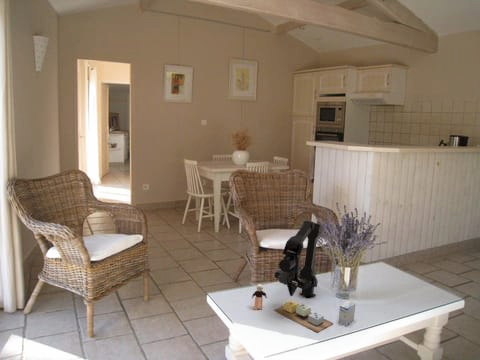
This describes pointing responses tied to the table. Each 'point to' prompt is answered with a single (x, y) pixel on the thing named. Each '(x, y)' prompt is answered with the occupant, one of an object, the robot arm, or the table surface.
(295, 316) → the button board
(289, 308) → the mustard tile
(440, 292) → the table surface
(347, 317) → the medicine box
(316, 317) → the slate tile
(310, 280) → the robot arm
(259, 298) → the grandmother figurine
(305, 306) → the sage tile
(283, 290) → the table surface
